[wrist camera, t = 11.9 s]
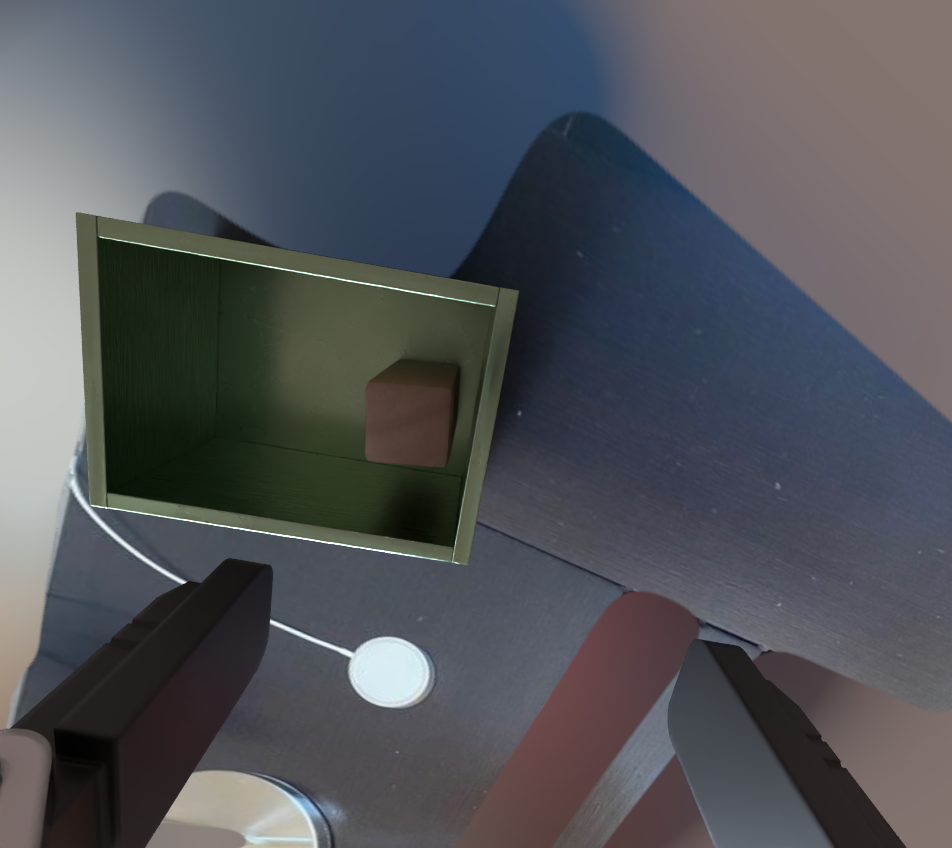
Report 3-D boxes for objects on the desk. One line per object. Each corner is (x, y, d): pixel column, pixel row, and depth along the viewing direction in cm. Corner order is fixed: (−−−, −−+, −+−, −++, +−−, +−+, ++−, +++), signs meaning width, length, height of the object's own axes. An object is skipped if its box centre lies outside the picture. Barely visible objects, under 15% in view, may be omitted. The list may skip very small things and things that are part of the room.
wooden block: (456, 426, 29) (448, 471, 22) (393, 421, 29) (362, 464, 22) (461, 363, 28) (453, 386, 21) (395, 357, 28) (363, 379, 21)
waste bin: (507, 293, 28) (519, 290, 19) (472, 486, 31) (468, 565, 22) (212, 241, 27) (74, 211, 18) (208, 443, 31) (89, 505, 21)
